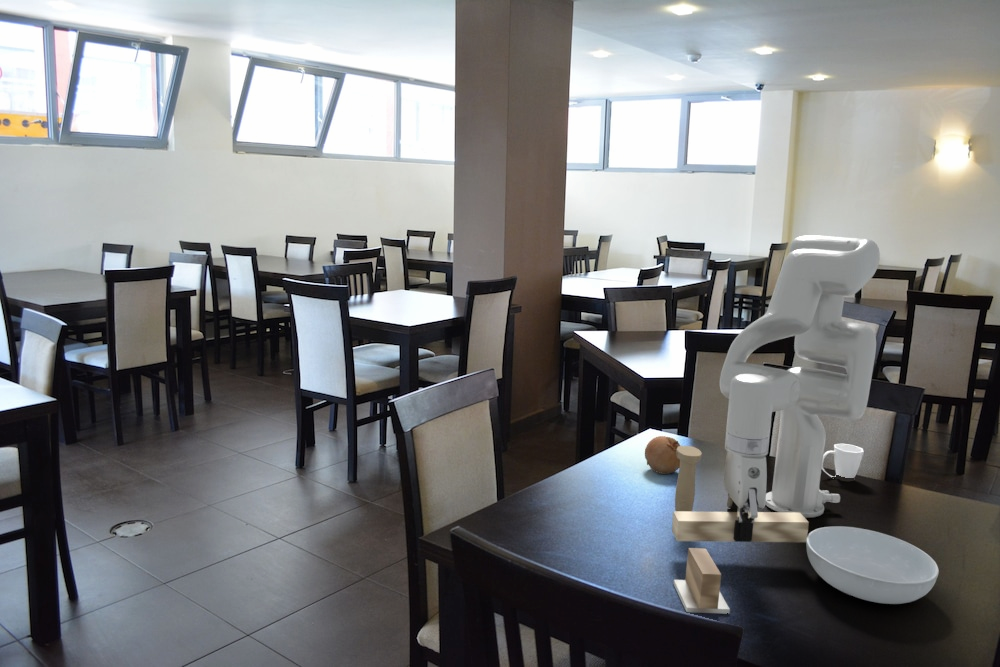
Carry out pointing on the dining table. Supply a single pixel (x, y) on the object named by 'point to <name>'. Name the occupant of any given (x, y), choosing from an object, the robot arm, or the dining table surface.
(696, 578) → the wooden block on base
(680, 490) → the handle
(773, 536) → the beam
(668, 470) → the onion
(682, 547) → the dining table surface
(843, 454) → the cup
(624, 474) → the dining table surface
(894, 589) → the serving bowl
